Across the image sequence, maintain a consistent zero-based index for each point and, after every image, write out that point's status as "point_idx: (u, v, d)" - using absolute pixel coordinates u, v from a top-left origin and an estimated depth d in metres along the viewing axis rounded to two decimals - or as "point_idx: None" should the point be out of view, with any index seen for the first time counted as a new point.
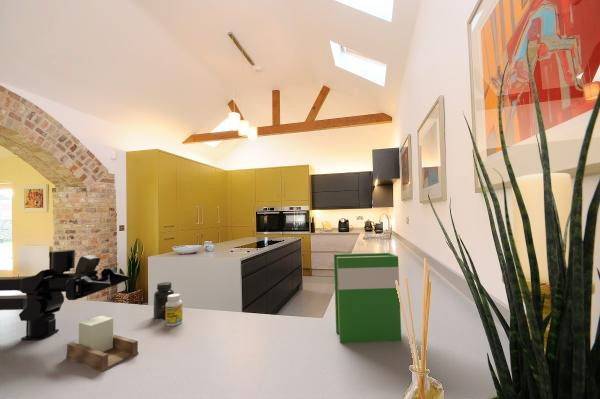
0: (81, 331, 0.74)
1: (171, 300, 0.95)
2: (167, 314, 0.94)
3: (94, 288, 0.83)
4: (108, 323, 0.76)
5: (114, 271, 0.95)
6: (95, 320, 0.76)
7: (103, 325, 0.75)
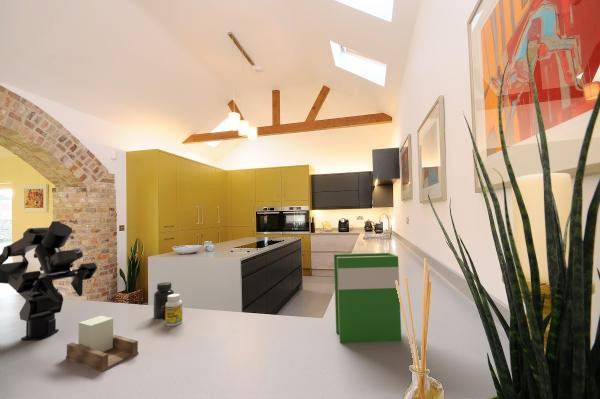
0: (81, 331, 0.74)
1: (171, 300, 0.95)
2: (167, 314, 0.94)
3: (47, 292, 0.80)
4: (108, 323, 0.76)
5: (80, 275, 0.87)
6: (95, 320, 0.76)
7: (103, 325, 0.75)
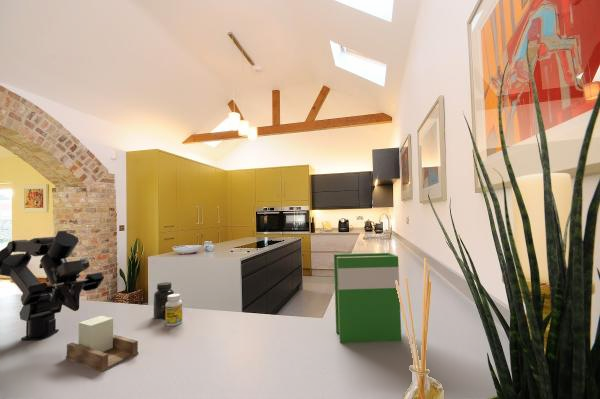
0: (81, 331, 0.74)
1: (171, 300, 0.95)
2: (167, 314, 0.94)
3: (65, 301, 0.80)
4: (108, 323, 0.76)
5: (77, 288, 0.83)
6: (95, 320, 0.76)
7: (103, 325, 0.75)
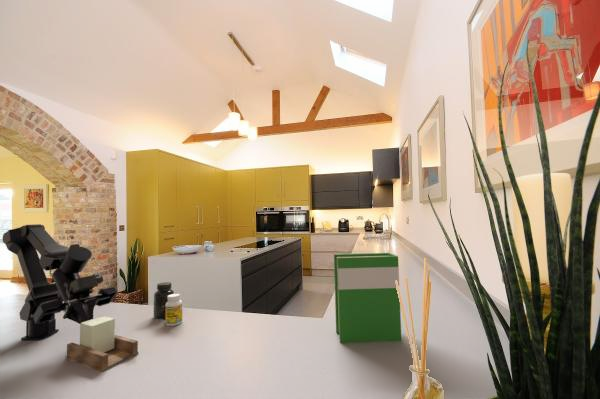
0: (82, 331, 0.74)
1: (171, 300, 0.95)
2: (167, 314, 0.94)
3: (79, 319, 0.77)
4: (109, 323, 0.76)
5: (91, 304, 0.79)
6: (97, 320, 0.76)
7: (105, 325, 0.75)
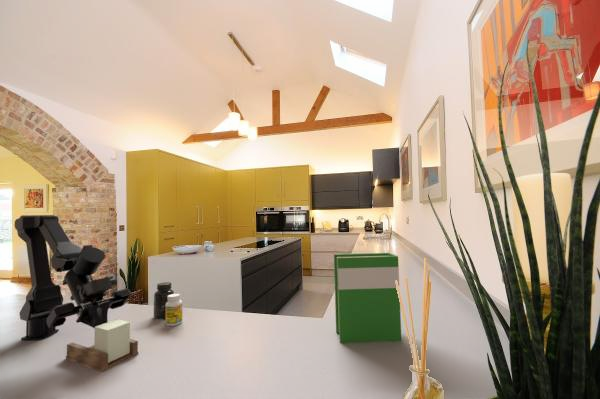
0: (97, 336, 0.71)
1: (171, 300, 0.95)
2: (167, 314, 0.94)
3: (93, 322, 0.74)
4: (125, 327, 0.73)
5: (105, 307, 0.77)
6: (111, 324, 0.73)
7: (120, 329, 0.72)
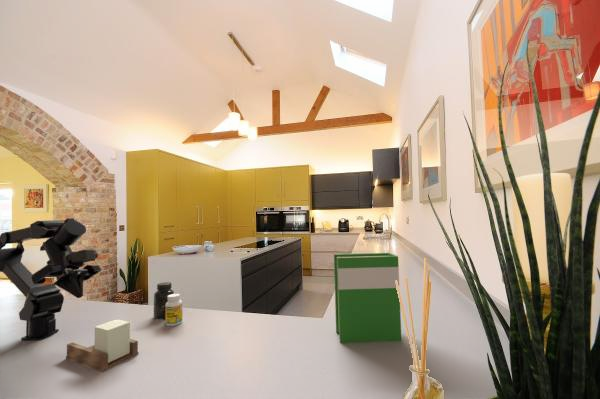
0: (97, 336, 0.71)
1: (171, 300, 0.95)
2: (167, 314, 0.94)
3: (69, 287, 0.83)
4: (125, 327, 0.73)
5: (82, 276, 0.86)
6: (111, 324, 0.73)
7: (120, 329, 0.72)
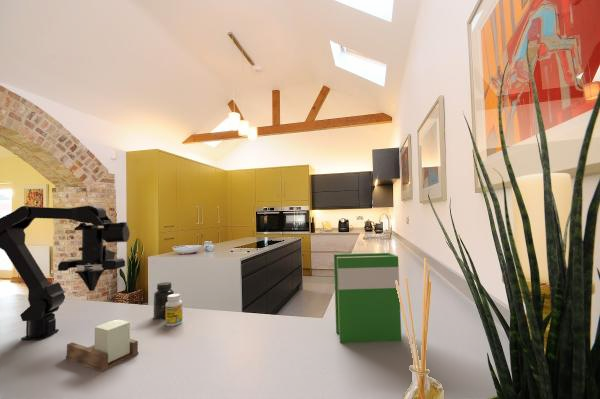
0: (97, 336, 0.71)
1: (171, 300, 0.95)
2: (167, 314, 0.94)
3: (95, 279, 0.91)
4: (125, 327, 0.73)
5: None
6: (111, 324, 0.73)
7: (120, 329, 0.72)
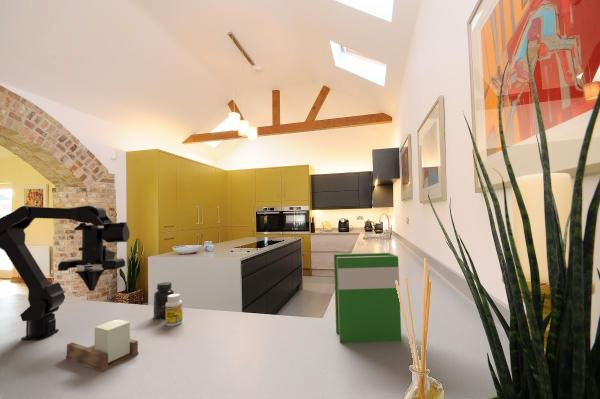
0: (97, 336, 0.71)
1: (171, 300, 0.95)
2: (167, 314, 0.94)
3: (95, 279, 0.91)
4: (125, 327, 0.73)
5: None
6: (111, 324, 0.73)
7: (120, 329, 0.72)
